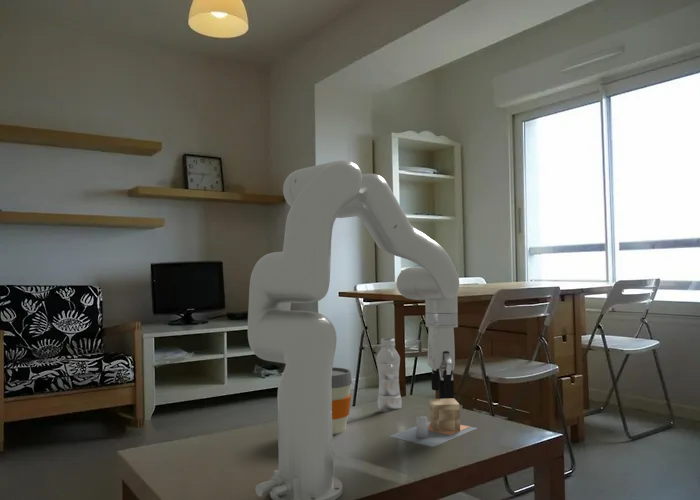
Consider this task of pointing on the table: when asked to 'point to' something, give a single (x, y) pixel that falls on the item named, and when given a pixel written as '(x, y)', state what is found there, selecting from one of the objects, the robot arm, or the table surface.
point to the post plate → (429, 433)
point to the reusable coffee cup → (340, 398)
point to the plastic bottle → (388, 376)
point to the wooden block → (444, 414)
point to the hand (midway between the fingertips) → (442, 393)
